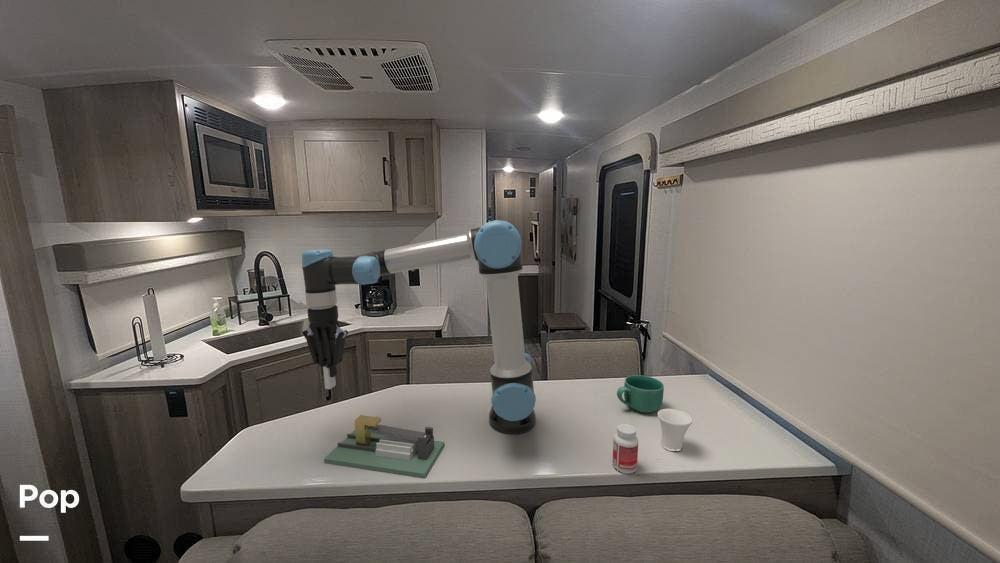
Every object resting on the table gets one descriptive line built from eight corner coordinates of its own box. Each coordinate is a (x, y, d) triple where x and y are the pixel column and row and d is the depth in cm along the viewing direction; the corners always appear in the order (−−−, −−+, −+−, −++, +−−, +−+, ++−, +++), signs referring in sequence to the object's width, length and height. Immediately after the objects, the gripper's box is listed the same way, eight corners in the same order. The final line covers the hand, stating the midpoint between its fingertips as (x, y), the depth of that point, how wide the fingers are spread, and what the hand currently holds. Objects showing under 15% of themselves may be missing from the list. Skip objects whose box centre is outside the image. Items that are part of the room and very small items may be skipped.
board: (444, 445, 106) (443, 422, 105) (424, 478, 93) (424, 451, 92) (354, 433, 112) (353, 411, 111) (324, 462, 99) (322, 437, 98)
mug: (647, 397, 135) (649, 373, 134) (670, 414, 123) (672, 388, 122) (606, 402, 132) (607, 377, 131) (625, 420, 120) (627, 393, 118)
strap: (431, 438, 102) (431, 432, 101) (426, 444, 99) (426, 438, 98) (372, 427, 105) (372, 421, 105) (366, 433, 102) (366, 427, 102)
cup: (647, 442, 108) (650, 411, 106) (671, 435, 111) (673, 405, 110) (672, 460, 100) (675, 426, 98) (696, 452, 103) (699, 419, 102)
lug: (382, 442, 105) (381, 417, 104) (377, 448, 102) (375, 423, 101) (362, 439, 107) (360, 415, 105) (356, 446, 104) (354, 420, 102)
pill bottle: (641, 469, 96) (644, 430, 95) (626, 478, 93) (629, 438, 91) (622, 456, 101) (624, 419, 100) (607, 464, 98) (609, 426, 96)
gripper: (351, 303, 103) (358, 382, 107) (311, 302, 105) (319, 379, 109) (334, 310, 95) (342, 394, 99) (291, 308, 98) (301, 391, 102)
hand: (330, 386), depth 104 cm, fingers closed
